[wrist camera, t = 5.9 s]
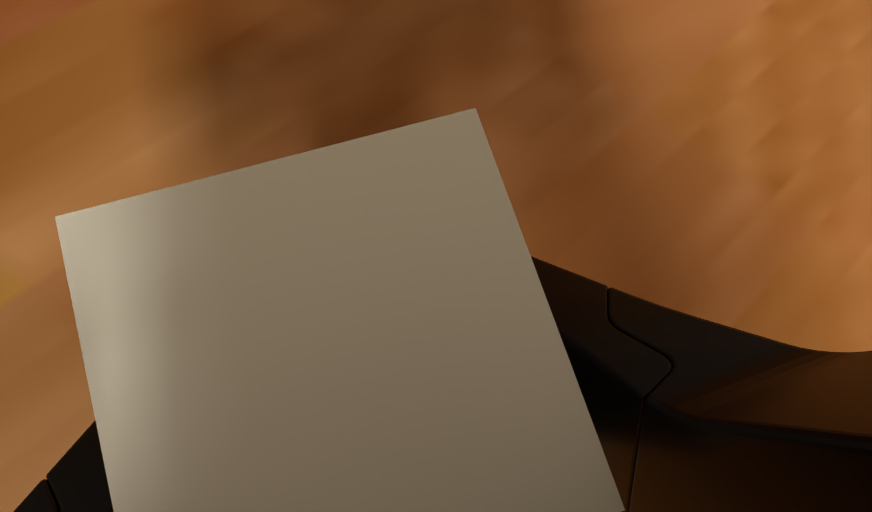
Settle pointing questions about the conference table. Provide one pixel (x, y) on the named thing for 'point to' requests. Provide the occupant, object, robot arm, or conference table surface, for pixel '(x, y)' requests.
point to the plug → (331, 339)
